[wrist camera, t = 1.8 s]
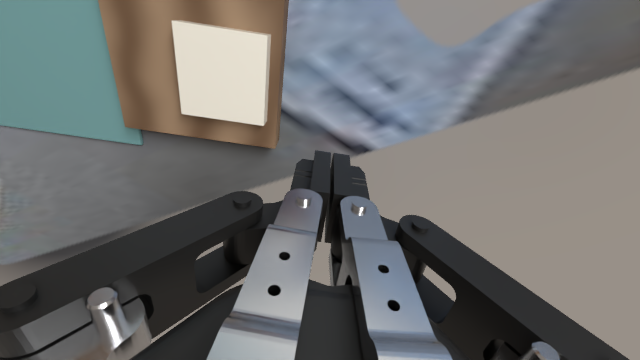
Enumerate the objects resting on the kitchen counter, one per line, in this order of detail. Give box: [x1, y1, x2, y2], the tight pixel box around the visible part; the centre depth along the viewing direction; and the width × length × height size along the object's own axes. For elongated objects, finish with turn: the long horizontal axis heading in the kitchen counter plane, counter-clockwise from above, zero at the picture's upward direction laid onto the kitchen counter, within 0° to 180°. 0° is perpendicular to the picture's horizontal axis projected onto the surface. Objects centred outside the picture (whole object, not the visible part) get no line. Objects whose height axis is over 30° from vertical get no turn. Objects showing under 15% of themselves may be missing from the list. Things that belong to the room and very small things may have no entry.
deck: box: [98, 0, 289, 149], centre depth 28 cm, size 16×14×2 cm
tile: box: [172, 20, 271, 126], centre depth 27 cm, size 8×8×2 cm
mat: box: [0, 0, 143, 145], centre depth 29 cm, size 20×20×1 cm
